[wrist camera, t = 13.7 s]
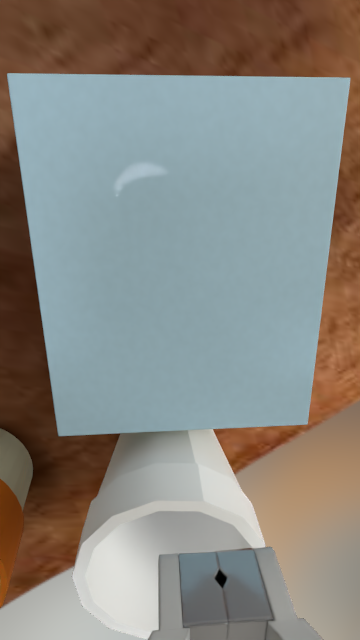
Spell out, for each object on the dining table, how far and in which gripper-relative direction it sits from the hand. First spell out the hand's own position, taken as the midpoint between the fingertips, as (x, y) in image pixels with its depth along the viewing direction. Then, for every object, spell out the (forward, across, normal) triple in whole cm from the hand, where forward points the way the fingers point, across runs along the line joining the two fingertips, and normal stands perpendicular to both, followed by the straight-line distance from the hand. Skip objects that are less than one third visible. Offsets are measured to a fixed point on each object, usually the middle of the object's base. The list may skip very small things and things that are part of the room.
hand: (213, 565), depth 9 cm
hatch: (+10, 0, -5) cm, 12 cm away
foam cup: (+18, +1, +8) cm, 20 cm away
